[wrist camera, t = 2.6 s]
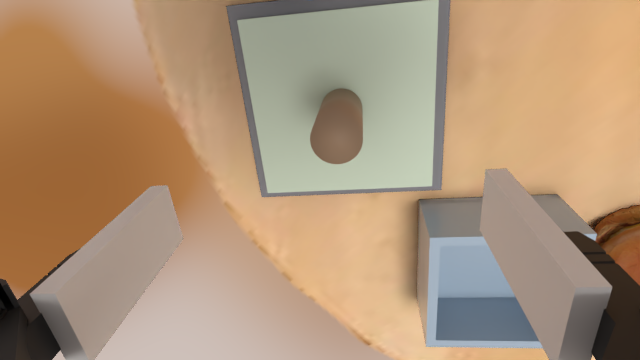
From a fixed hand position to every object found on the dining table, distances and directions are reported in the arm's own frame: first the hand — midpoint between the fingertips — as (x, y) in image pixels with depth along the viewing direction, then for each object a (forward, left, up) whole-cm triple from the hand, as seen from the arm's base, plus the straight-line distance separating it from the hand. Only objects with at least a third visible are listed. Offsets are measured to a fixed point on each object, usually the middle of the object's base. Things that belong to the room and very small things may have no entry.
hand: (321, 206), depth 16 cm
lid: (0, 0, -16) cm, 16 cm away
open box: (+15, +12, -17) cm, 25 cm away
